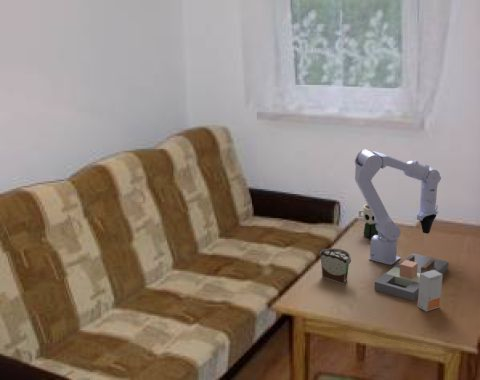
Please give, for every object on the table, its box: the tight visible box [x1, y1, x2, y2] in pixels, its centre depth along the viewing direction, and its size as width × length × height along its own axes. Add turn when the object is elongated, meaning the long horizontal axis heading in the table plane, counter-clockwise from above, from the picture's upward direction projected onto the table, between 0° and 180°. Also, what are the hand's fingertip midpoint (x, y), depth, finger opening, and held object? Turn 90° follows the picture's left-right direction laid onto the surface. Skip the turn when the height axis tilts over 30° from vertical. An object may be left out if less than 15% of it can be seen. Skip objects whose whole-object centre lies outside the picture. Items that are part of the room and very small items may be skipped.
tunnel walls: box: [400, 254, 435, 273], centre depth 226 cm, size 9×8×2 cm
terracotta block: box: [399, 260, 418, 279], centre depth 220 cm, size 4×4×4 cm
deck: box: [374, 252, 449, 302], centre depth 224 cm, size 14×30×3 cm, turn 141°
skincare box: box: [417, 270, 444, 312], centre depth 203 cm, size 6×4×12 cm
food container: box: [318, 248, 352, 285], centre depth 226 cm, size 12×6×10 cm, turn 47°
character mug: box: [358, 203, 378, 239], centre depth 262 cm, size 11×7×13 cm, turn 70°
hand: (426, 232), depth 240 cm, fingers closed
